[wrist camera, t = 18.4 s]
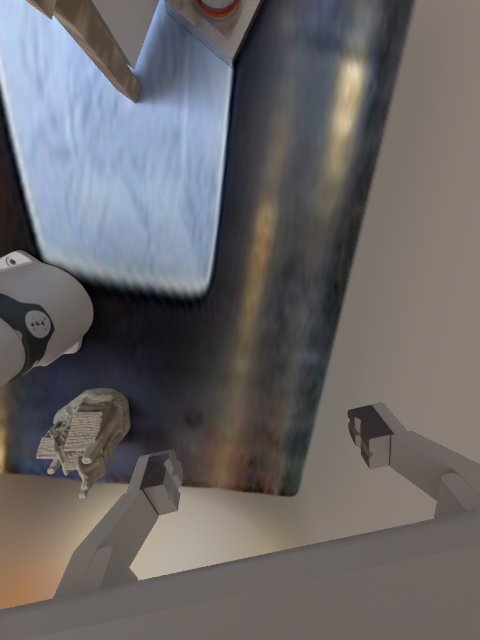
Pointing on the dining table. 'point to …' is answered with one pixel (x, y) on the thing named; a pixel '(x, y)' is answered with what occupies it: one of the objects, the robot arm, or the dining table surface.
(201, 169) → the dining table surface
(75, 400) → the ceramic cottage
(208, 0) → the pill bottle
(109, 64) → the door frame
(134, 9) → the door
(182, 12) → the keeper
